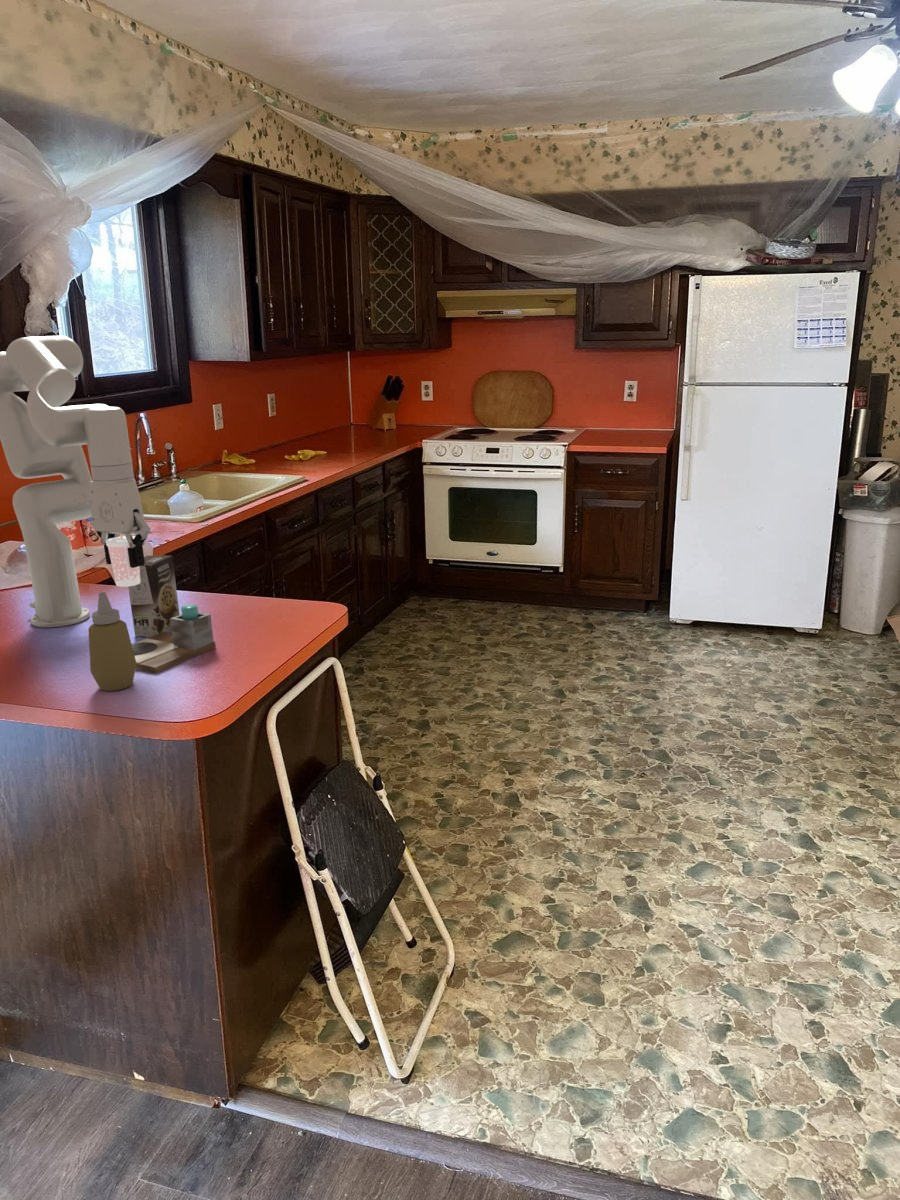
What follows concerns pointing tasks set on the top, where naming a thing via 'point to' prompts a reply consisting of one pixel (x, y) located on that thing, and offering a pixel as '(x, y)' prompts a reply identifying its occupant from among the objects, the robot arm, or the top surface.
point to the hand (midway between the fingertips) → (125, 563)
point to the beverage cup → (122, 562)
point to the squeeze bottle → (110, 648)
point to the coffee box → (154, 597)
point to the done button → (189, 612)
